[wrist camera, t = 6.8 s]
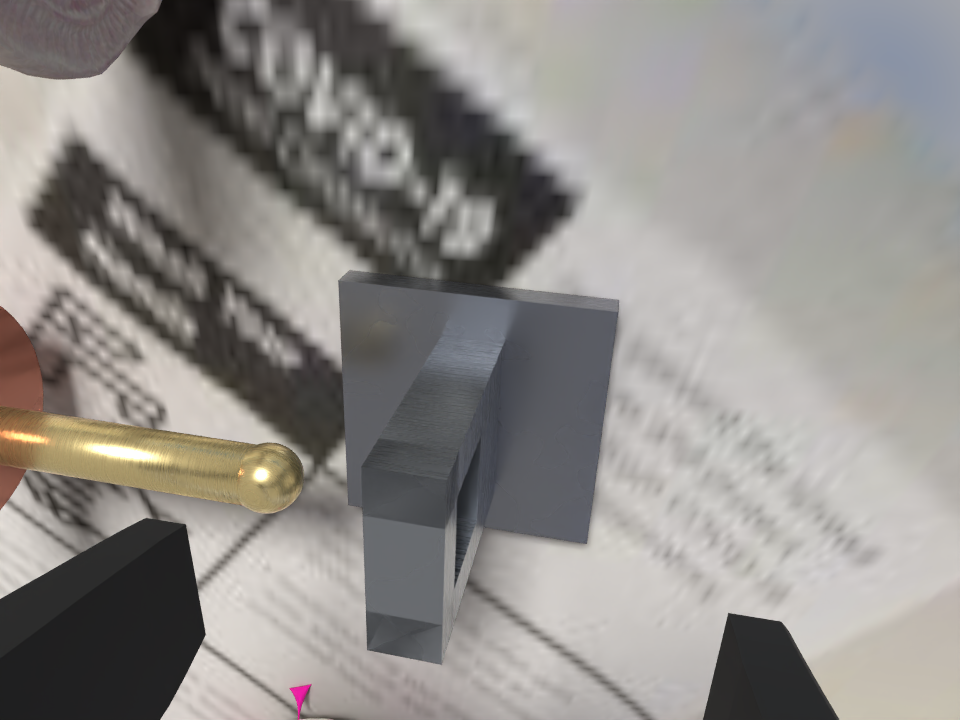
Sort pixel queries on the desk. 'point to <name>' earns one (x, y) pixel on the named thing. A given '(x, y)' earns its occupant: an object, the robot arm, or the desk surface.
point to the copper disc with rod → (128, 446)
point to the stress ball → (302, 699)
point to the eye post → (463, 434)
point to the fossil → (68, 34)
